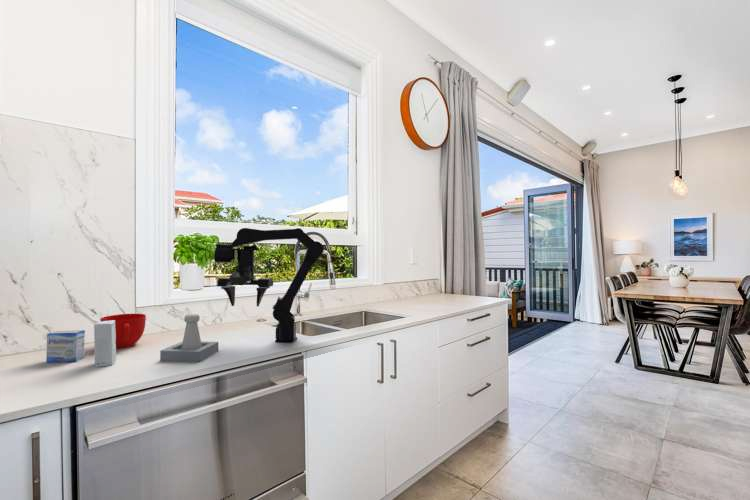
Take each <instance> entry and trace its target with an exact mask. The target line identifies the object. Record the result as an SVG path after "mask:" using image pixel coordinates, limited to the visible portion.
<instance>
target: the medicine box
mask: <svg viewBox="0 0 750 500" xmlns="http://www.w3.org/2000/svg"><path fill="white" fill-rule="evenodd" d="M85 337H86V330H84V329H83V330H82V329H80V330H77V329H76V330H56V331H51V332H48V333H47V334H46V352H45V353H46V357H45V358H46V361H45V362H46V363H47V364H53V363H55V364H57V363H73V362H75V363H76V362H78V361H81V360H83V359H84V358H85V345H86V344H85V343H86V342H85V341H86V340H85Z"/></svg>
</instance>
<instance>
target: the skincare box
mask: <svg viewBox="0 0 750 500" xmlns="http://www.w3.org/2000/svg"><path fill="white" fill-rule="evenodd" d="M93 327H94V328H93V330H94V331H93V332H94V333H93V334H94V335H93V336H94V337H93V338H94V340H93V342H94V344H93V345H94V367H95V368H99V367H108V366H109V367H111V366H112V365H114V364H115V362H116V361H117V348H116V330H115V320H110V321H101V320H99V321H98V322H96V323H95V324H94V325H93Z"/></svg>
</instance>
